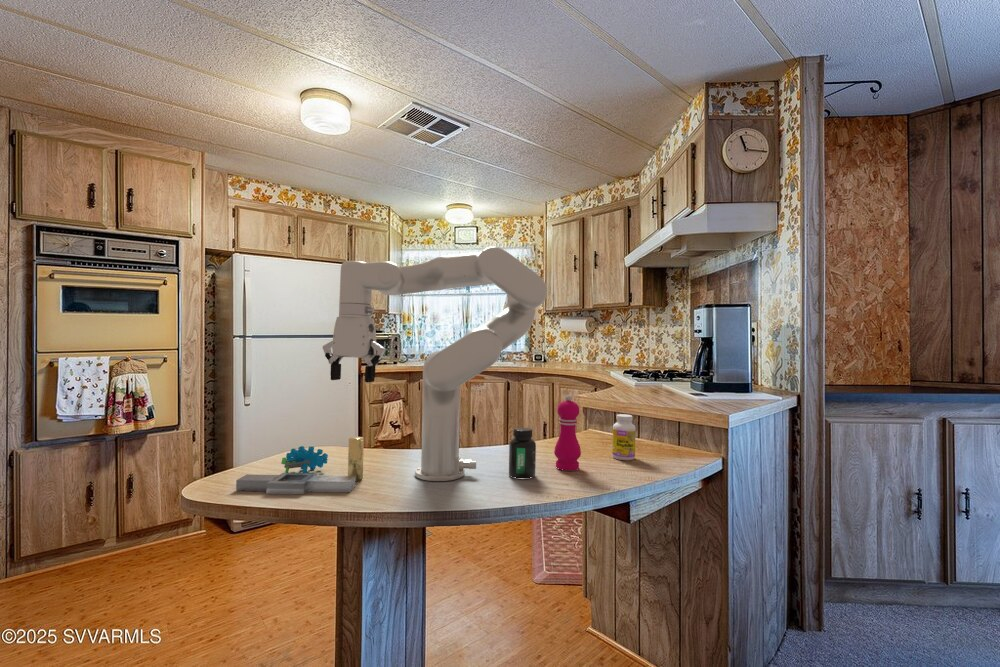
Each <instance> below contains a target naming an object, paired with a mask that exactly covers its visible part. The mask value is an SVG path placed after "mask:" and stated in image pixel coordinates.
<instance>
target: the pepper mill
mask: <svg viewBox="0 0 1000 667" xmlns="http://www.w3.org/2000/svg"><path fill="white" fill-rule="evenodd" d="M572 399H573V397H572V396H571V394H567V395H566V396H565V400H563V401H561V402H560V403H559V404H558V406H557V414H558V416H559V418H558V424H559V425H560V426H559V427H560V430H559V431H560V433H559V436H558V439H557V441H556V443H555V446H554V452H553V453H554V456H555V457H556V458H557V460H555V468H556V467H557V468H559V469H563V470H576V471H578V470H579V468H580V462H579V460H578V459H580V457H581V456H582V450H581V446H580V444H579V441H578V439H577V438H578V437H577V434H576V426H577V425H578V418H577V417H578V416H579V414H580V406H579V404H577V403H576V402H575V401H573V400H572ZM557 468H556V469H557ZM559 469H558V470H559ZM577 469H578V470H577ZM563 470H562V471H563Z"/></svg>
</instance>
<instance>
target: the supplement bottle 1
mask: <svg viewBox="0 0 1000 667" xmlns="http://www.w3.org/2000/svg"><path fill="white" fill-rule="evenodd" d="M512 436H513V438H511V440H509V445H508V475H510V476H512V477H516V478H530V477H534V478H535V476H536V467H537V466H536V465H537V463H536V462H537V461H536V460H537V444H536V441H535V440H534V439H533V438H532V437H533V429H532V428H530V427H514V428H513V433H512ZM510 476H509V477H510ZM512 477H511V478H512Z"/></svg>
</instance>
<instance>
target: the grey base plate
mask: <svg viewBox="0 0 1000 667" xmlns="http://www.w3.org/2000/svg"><path fill="white" fill-rule="evenodd" d="M355 479H356V476H348V475H320V474H319V475H318V472H317V473H316V472H307V473H302V472H288V473H285V472H282V473H280V474H245V475H243V476H242V477H238V478H237V479H236V482H235V483H236V484H235V486H236V487H235V491H236V490H237V491H236V492H242V491H241V490H245V491H244V492H266V493H265V494H266V495H293V494H304V493H305V494H306V493H347V492H350V491H351V490H352V491H353V489H354V488H355V487H356V482H355ZM307 491H308V492H307ZM311 491H312V492H311ZM352 491H351V492H352ZM351 492H350V493H351ZM305 494H304V495H305Z"/></svg>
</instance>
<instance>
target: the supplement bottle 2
mask: <svg viewBox="0 0 1000 667" xmlns="http://www.w3.org/2000/svg"><path fill="white" fill-rule="evenodd" d="M632 421H633V415H631V414H625V413H624V414H623V413H622V414H621V413H619V414H618V413H617V414H616V422H614V424H613V425H612V442H611V443H612V449H611V450H612V451H611V452H612V453H611V455H612V456H611V457H612V458H614V459H616V460H618V461H619V460H620V461H634V459H635V457H636V434H637V433H636V431H637V430H636V425H635V424H633V422H632Z"/></svg>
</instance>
